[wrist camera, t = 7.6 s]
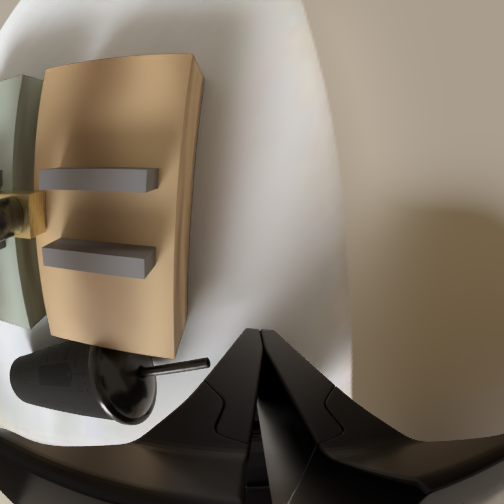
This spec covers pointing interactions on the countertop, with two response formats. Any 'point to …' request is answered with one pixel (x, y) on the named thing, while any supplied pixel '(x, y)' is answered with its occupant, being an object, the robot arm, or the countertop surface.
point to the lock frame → (103, 199)
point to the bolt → (22, 214)
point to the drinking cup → (93, 380)
